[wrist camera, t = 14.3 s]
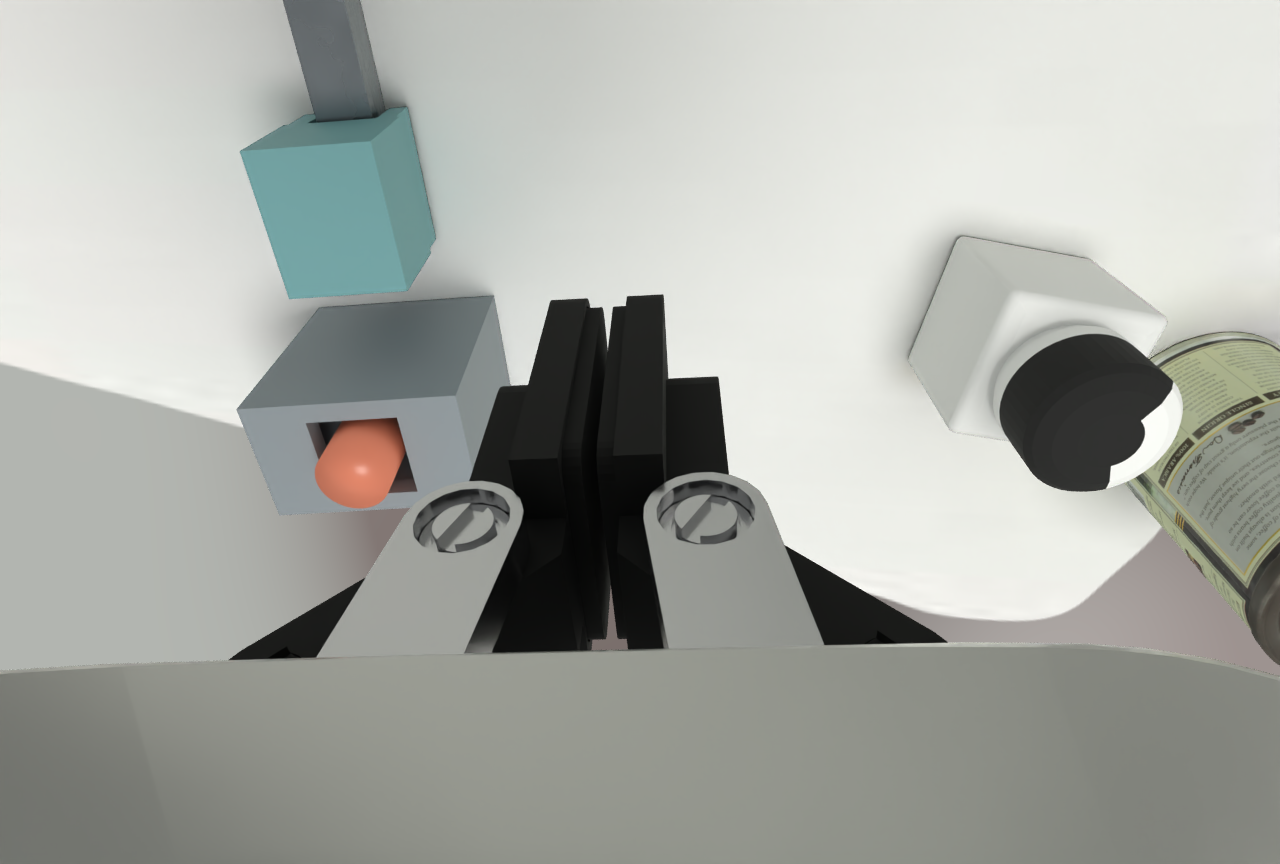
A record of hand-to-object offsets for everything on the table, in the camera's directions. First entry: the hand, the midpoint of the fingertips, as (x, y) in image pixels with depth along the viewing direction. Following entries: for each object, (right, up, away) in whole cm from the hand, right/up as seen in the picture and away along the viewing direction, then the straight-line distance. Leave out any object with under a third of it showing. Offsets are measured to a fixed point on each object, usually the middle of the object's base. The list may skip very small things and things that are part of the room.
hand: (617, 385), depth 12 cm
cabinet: (-11, +4, +30) cm, 32 cm away
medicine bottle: (+19, +6, +29) cm, 35 cm away
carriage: (-12, +11, +25) cm, 30 cm away
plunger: (-11, 0, +24) cm, 27 cm away
